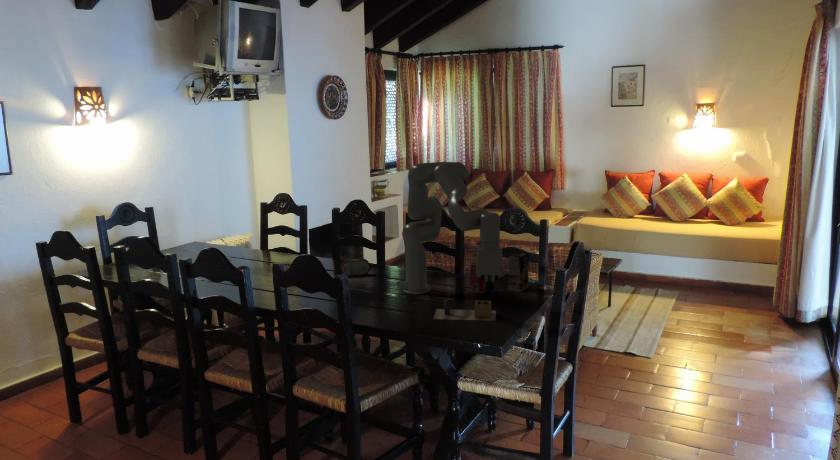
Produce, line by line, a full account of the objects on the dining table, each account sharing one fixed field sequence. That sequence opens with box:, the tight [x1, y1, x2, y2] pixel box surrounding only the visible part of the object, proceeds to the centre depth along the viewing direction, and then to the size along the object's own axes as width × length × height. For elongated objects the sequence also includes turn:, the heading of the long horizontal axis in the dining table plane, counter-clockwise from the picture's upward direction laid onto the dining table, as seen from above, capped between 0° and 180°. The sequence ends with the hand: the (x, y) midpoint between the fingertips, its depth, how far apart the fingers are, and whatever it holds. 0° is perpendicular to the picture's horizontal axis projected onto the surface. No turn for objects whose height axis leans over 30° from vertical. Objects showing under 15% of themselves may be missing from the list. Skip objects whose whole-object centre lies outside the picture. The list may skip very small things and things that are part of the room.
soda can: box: [469, 261, 487, 295], centre depth 269 cm, size 7×7×13 cm
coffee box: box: [507, 252, 530, 293], centre depth 272 cm, size 9×6×16 cm
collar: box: [473, 299, 492, 318], centre depth 235 cm, size 6×6×5 cm
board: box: [432, 299, 497, 322], centre depth 236 cm, size 24×12×7 cm, turn 83°
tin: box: [339, 258, 371, 277], centre depth 301 cm, size 15×3×8 cm, turn 106°
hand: (489, 291), depth 233 cm, fingers closed
